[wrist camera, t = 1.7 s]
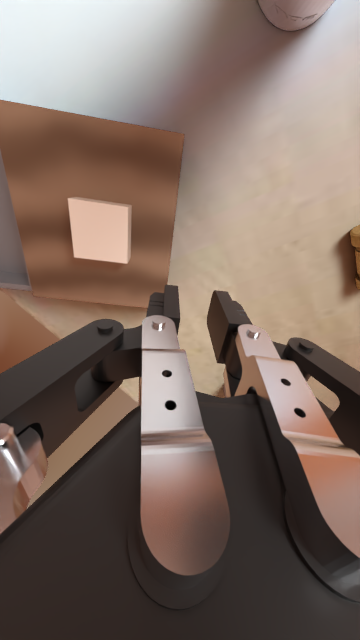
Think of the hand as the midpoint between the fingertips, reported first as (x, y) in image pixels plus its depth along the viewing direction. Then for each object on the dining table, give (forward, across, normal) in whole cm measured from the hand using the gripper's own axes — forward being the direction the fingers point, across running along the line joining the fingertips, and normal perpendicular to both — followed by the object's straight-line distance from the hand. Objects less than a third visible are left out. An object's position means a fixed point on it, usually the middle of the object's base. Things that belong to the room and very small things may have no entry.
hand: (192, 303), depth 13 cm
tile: (+17, +9, 0) cm, 19 cm away
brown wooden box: (+23, +10, 0) cm, 25 cm away
